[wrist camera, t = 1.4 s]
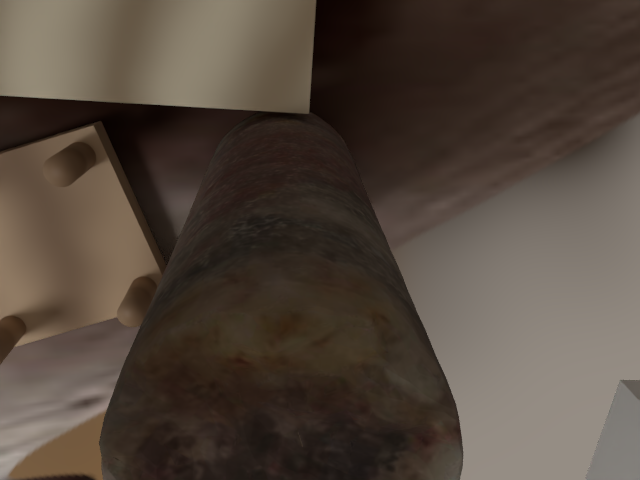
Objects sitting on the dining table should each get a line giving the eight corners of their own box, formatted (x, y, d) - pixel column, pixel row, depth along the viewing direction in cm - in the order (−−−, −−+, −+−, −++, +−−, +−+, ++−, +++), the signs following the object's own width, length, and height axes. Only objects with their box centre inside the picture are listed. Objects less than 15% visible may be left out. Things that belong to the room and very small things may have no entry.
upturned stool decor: (13, 338, 31) (-23, 382, 27) (-87, 178, 27) (-145, 204, 23) (177, 289, 30) (164, 327, 27) (100, 120, 26) (73, 137, 23)
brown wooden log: (254, 262, 30) (222, 654, 12) (180, 151, 27) (-14, 432, 9) (374, 199, 29) (547, 515, 11) (311, 77, 26) (397, 219, 8)
